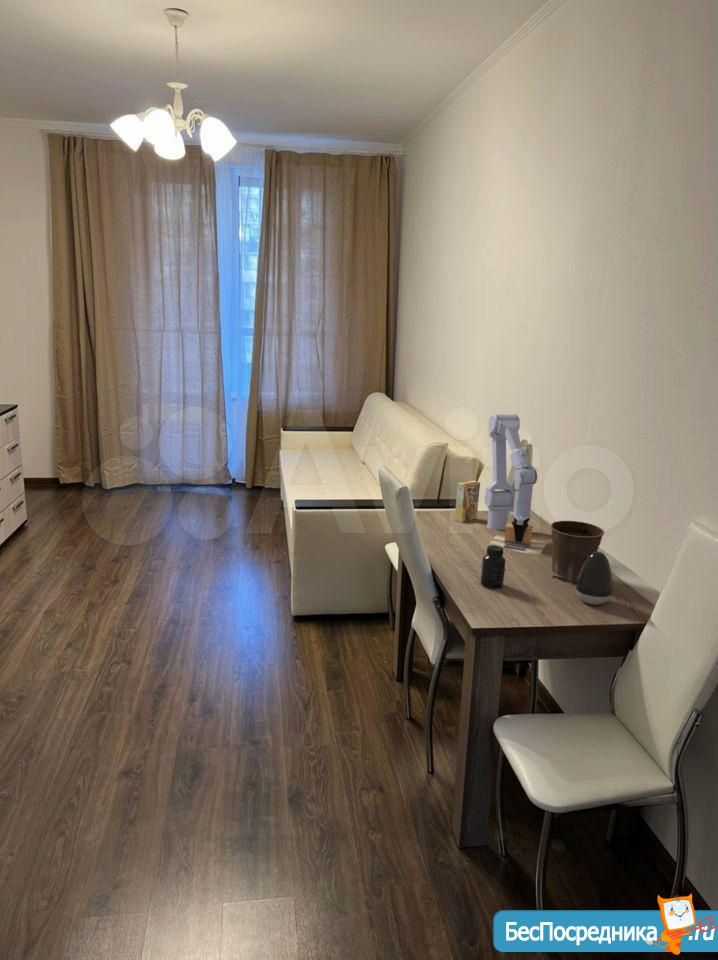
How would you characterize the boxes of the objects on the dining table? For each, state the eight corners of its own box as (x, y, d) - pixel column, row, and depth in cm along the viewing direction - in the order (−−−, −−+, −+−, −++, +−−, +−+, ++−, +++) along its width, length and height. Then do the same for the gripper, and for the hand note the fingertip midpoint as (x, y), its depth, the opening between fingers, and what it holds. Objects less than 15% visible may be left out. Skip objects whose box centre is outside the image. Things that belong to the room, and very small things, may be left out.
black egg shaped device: (577, 591, 221) (583, 543, 217) (613, 599, 216) (620, 550, 212) (569, 603, 212) (575, 553, 208) (606, 611, 207) (613, 560, 203)
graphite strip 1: (506, 543, 258) (506, 542, 257) (526, 547, 255) (526, 545, 255) (505, 545, 256) (505, 543, 256) (525, 548, 254) (526, 546, 254)
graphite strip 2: (504, 546, 255) (504, 544, 255) (525, 549, 252) (525, 548, 252) (503, 547, 254) (504, 545, 253) (524, 550, 251) (524, 549, 251)
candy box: (469, 517, 294) (472, 479, 290) (477, 519, 291) (480, 482, 287) (454, 520, 288) (457, 482, 285) (462, 523, 285) (465, 484, 282)
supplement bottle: (476, 582, 224) (479, 544, 222) (495, 580, 227) (498, 543, 224) (488, 590, 218) (491, 552, 215) (507, 588, 221) (511, 550, 218)
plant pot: (601, 589, 224) (607, 538, 220) (546, 583, 226) (552, 533, 223) (594, 570, 239) (600, 523, 236) (543, 565, 242) (549, 518, 238)
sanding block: (505, 538, 263) (506, 522, 262) (531, 541, 261) (532, 525, 260) (504, 542, 258) (505, 526, 257) (530, 546, 256) (532, 529, 255)
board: (496, 538, 268) (496, 534, 268) (546, 546, 262) (547, 542, 261) (486, 550, 254) (486, 546, 254) (539, 559, 247) (539, 555, 247)
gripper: (512, 495, 264) (509, 531, 267) (509, 505, 250) (505, 543, 254) (532, 497, 262) (529, 534, 265) (530, 508, 249) (526, 546, 252)
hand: (519, 539), depth 259 cm, fingers closed on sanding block, 5 cm apart
